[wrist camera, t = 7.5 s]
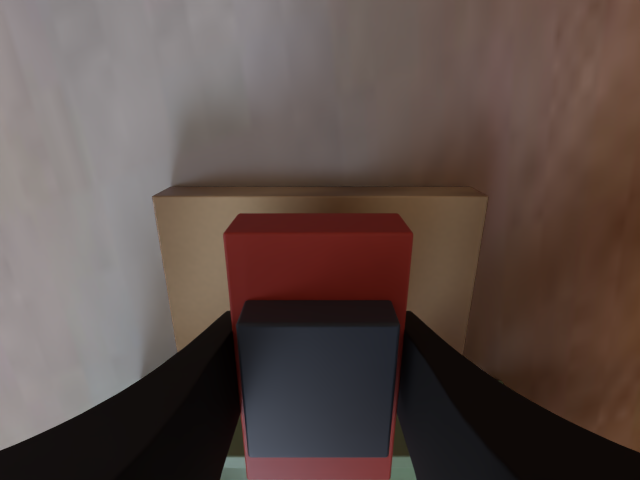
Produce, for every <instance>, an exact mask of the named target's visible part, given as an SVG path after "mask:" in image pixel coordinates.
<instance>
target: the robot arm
mask: <svg viewBox="0 0 640 480" xmlns="http://www.w3.org/2000/svg"><path fill="white" fill-rule="evenodd" d="M240 413H241V412H240V402H239V392H238V381H237V371H236V361H235V351H234V341H233V331H232V322H231V312H230V311H226V312H225V313H224V314H222V315H221V316H220V317H219V318H218V319H217V320H216V321H214V322H213V323H212V324H211V325H210V326H209V327H208V328H207V329H205V330H204V331H203V332H202V333H201V334H200V335H198V336H197V337H196V338H195V339H194V340H193V341H191V342H190V343H189V344H188V345H187V346H185V347H184V348H183V349H182V350H180V351H179V352H178V353H176V354H175V355H174V356H172V357H171V358H170V359H169V360H167V361H166V362H165V363H163V364H162V365H161V366H159V367H158V368H157V369H155V370H154V371H152V372H151V373H149V374H148V375H147V376H145V377H144V378H142V379H140V380H139V381H137V382H136V383H134V384H133V385H131V386H130V387H128V388H126V389H125V390H123V391H121V392H120V393H118V394H116V395H115V396H113V397H111V398H109V399H107V400H105V401H104V402H102V403H100V404H98V405H96V406H95V407H93V408H91V409H89V410H87V411H86V412H84V413H82V414H80V415H78V416H76V417H74V418H72V419H70V420H68V421H66V422H64V423H62V424H60V425H58V426H56V427H54V428H51V429H49V430H47V431H45V432H43V433H41V434H38V435H36V436H34V437H32V438H30V439H27V440H25V441H23V442H20V443H18V444H16V445H13V446H11V447H8V448H6V449H3V450H1V451H0V480H220V478H221V474H222V471H223V467H224V464H225V461H226V458H227V455H228V451H229V448H230V445H231V442H232V439H233V436H234V432H235V429H236V426H237V423H238V420H239V416H240ZM397 416H398V419H399V422H400V426H401V429H402V432H403V435H404V439H405V442H406V445H407V448H408V452H409V455H410V458H411V461H412V465H413V468H414V472H415V475H416V479H417V480H640V453H639V452H637V451H634V450H632V449H629V448H627V447H624V446H622V445H619V444H617V443H615V442H612V441H610V440H608V439H606V438H603V437H601V436H599V435H597V434H595V433H593V432H590V431H588V430H586V429H584V428H582V427H580V426H578V425H576V424H573V423H571V422H569V421H567V420H565V419H563V418H561V417H559V416H557V415H556V414H554V413H552V412H550V411H548V410H546V409H545V408H543V407H541V406H539V405H537V404H535V403H534V402H532V401H530V400H528V399H526V398H525V397H523V396H521V395H520V394H518V393H516V392H515V391H513V390H511V389H510V388H508V387H507V386H505V385H504V384H502V383H501V382H499V381H497V380H496V379H494V378H493V377H491V376H490V375H488V374H487V373H485V372H484V371H483V370H481V369H480V368H479V367H477V366H476V365H475V364H473V363H472V362H471V361H469V360H468V359H467V358H465V357H464V356H463V355H461V354H460V353H459V352H458V351H456V350H455V349H454V348H453V347H451V346H450V345H449V344H448V343H447V342H446V341H444V340H443V339H442V338H441V337H440V336H439V335H437V334H436V333H435V332H434V331H433V330H432V329H431V328H430V327H428V326H427V325H426V324H425V323H424V322H423V321H422V320H421V319H420V318H418V317H417V316H416V315H415V314H414V313H413V312H411V311H406V320H405V330H404V340H403V350H402V361H401V371H400V382H399V393H398V403H397Z"/></svg>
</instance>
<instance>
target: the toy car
mask: <svg viewBox="0 0 640 480" xmlns="http://www.w3.org/2000/svg"><path fill="white" fill-rule="evenodd" d="M223 240H224V251H225V261H226V271H227V281H228V291H229V301H230V312H231V322H232V331H233V341H234V351H235V361H236V371H237V381H238V392H239V402H240V412H241V423H242V433H243V444H244V454H245V464H246V474H247V479H248V480H390V477H391V468H392V457H393V447H394V436H395V425H396V415H397V403H398V393H399V382H400V371H401V361H402V350H403V340H404V330H405V320H406V309H407V299H408V288H409V277H410V267H411V256H412V246H413V232H412V231H411V230H410V228H409V227H408V226H407V224H406V223H405V222H404V220H403V219H402V218H401V216H400V215H399V214H397V213H240V214H238V215H237V216H236V217H235V219H234V220H233V221H232V223H231V224H230V225H229V226H228V228H227V229H226V230H225V232H224V233H223Z"/></svg>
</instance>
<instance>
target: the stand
mask: <svg viewBox="0 0 640 480" xmlns="http://www.w3.org/2000/svg"><path fill="white" fill-rule="evenodd" d="M152 199H153V205H154V212H155V218H156V224H157V230H158V236H159V242H160V248H161V254H162V260H163V267H164V273H165V279H166V285H167V291H168V297H169V303H170V309H171V316H172V322H173V328H174V334H175V340H176V346H177V352H179V351H180V350H182V349H183V348H184V347H185V346H187V345H188V344H189V343H190V342H191V341H193V340H194V339H195V338H196V337H197V336H198V335H200V334H201V333H202V332H203V331H204V330H205V329H207V328H208V327H209V326H210V325H211V324H212V323H213V322H214V321H216V320H217V319H218V318H219V317H220V316H221V315H222V314H224V313H225V312H226V311H230V301H229V291H228V281H227V271H226V261H225V251H224V240H223V233H224V232H225V230H226V229H227V228H228V226H229V225H230V224H231V223H232V221H233V220H234V219H235V217H236V216H237V215H238V214H240V213H397V214H399V215H400V216H401V218H402V219H403V220H404V222H405V223H406V224H407V226H408V227H409V228H410V230H411V231H412V232H413V246H412V256H411V267H410V277H409V288H408V299H407V309H406V311H411V312H413V313H414V314H415V315H416V316H417V317H418V318H420V319H421V320H422V321H423V322H424V323H425V324H426V325H427V326H428V327H430V328H431V329H432V330H433V331H434V332H435V333H436V334H437V335H439V336H440V337H441V338H442V339H443V340H444V341H446V342H447V343H448V344H449V345H450V346H451V347H453V348H454V349H455V350H456V351H458V352H459V353H460V354H461V355H463V350H464V344H465V338H466V331H467V325H468V319H469V313H470V307H471V301H472V295H473V289H474V283H475V277H476V271H477V264H478V258H479V252H480V246H481V240H482V234H483V228H484V222H485V216H486V210H487V203H488V196H487V195H485V194H483V193H481V192H479V191H477V190H475V189H474V188H472V187H169V188H167V189H165V190H163V191H161V192H159V193H157V194H156V195H154V196H152Z"/></svg>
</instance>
